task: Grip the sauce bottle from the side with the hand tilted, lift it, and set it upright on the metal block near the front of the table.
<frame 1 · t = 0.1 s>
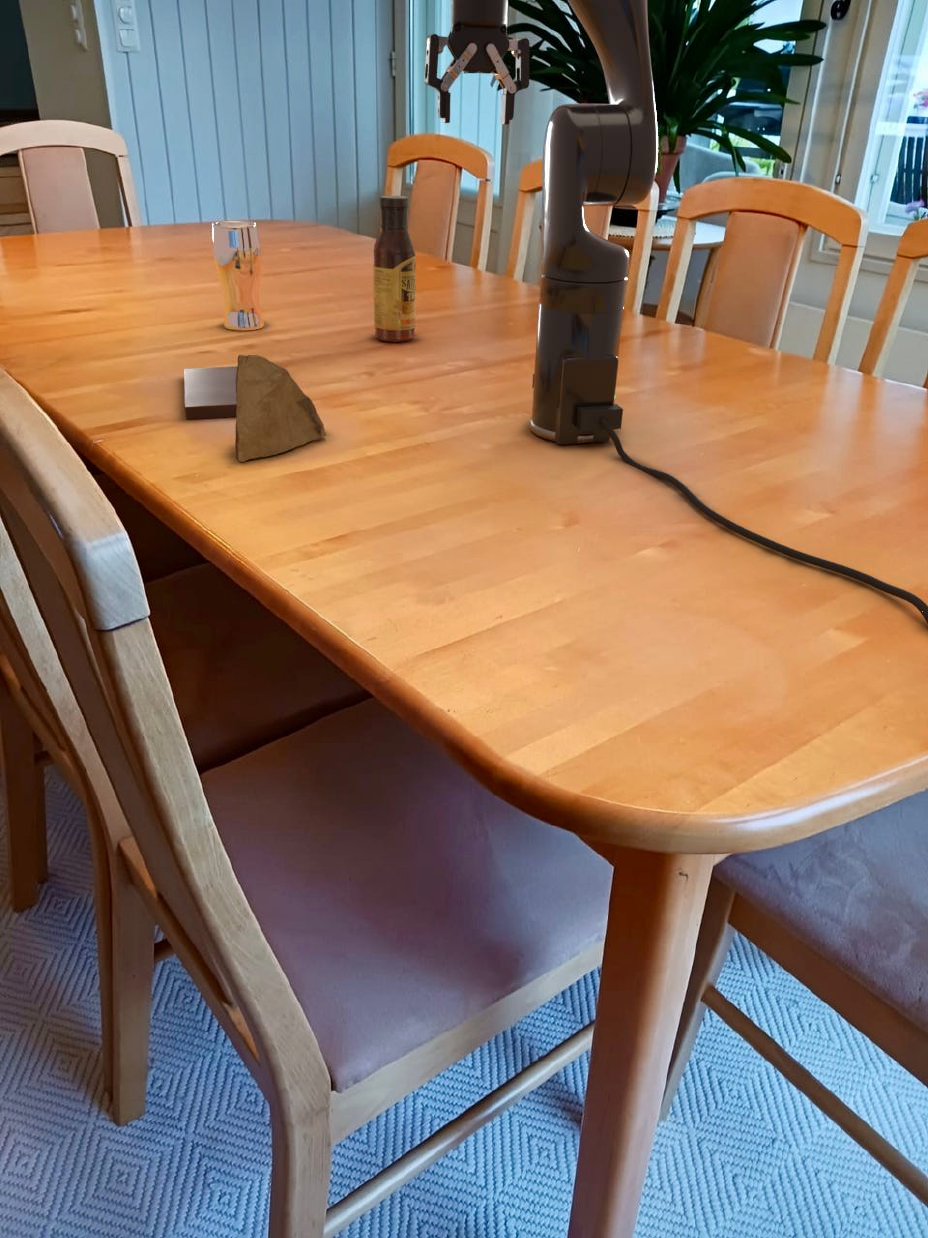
hand: (475, 123, 131), 29 cm above the table, tool pointing down, fingers open, 8 cm apart
metal block: (235, 396, 117), on the table
sauce bottle: (395, 339, 143), on the table
beer glass: (244, 327, 148), on the table
rock: (282, 448, 102), on the table
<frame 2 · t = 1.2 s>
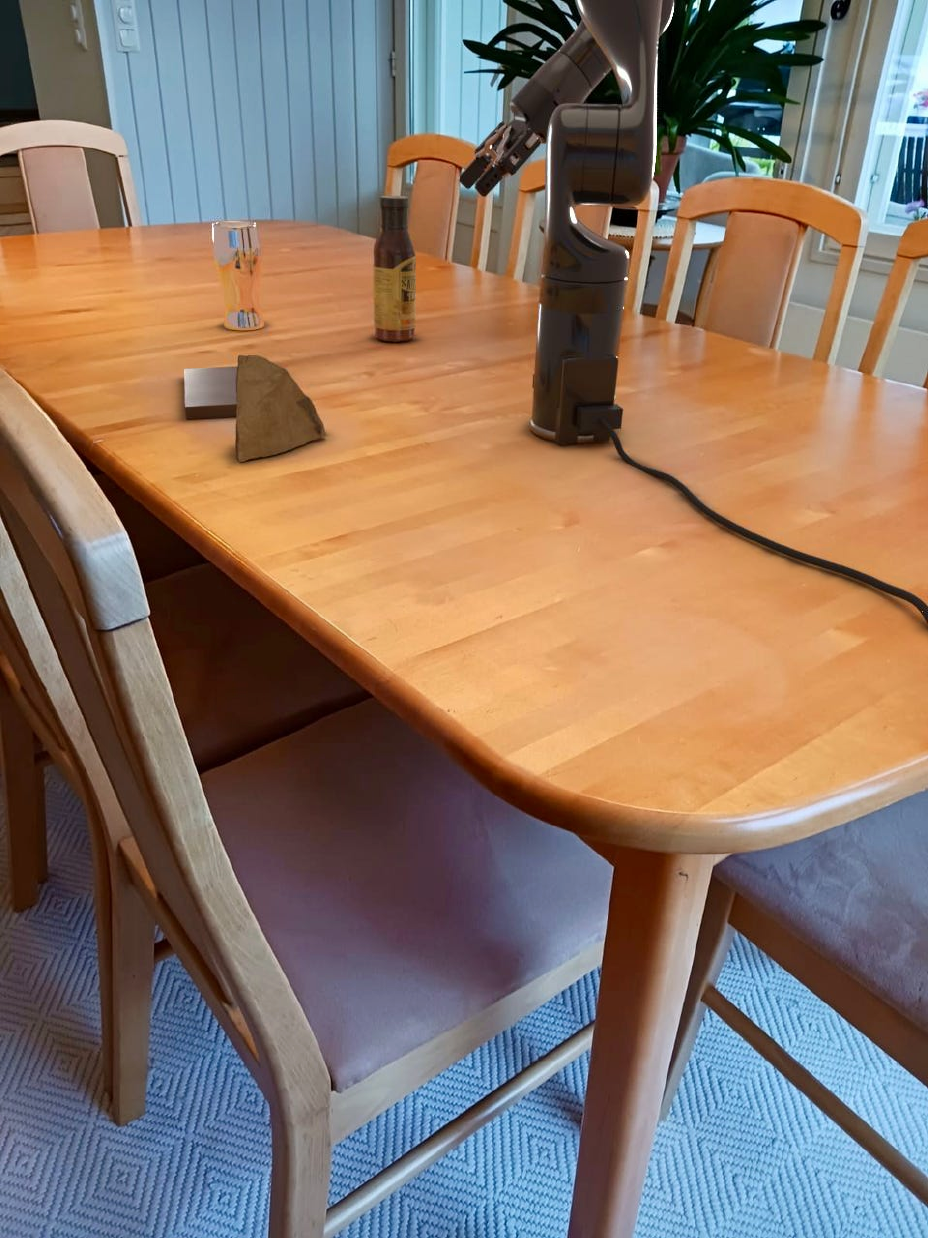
hand: (470, 188, 135), 21 cm above the table, tool tilted 45°, fingers open, 8 cm apart
nothing on the table moved.
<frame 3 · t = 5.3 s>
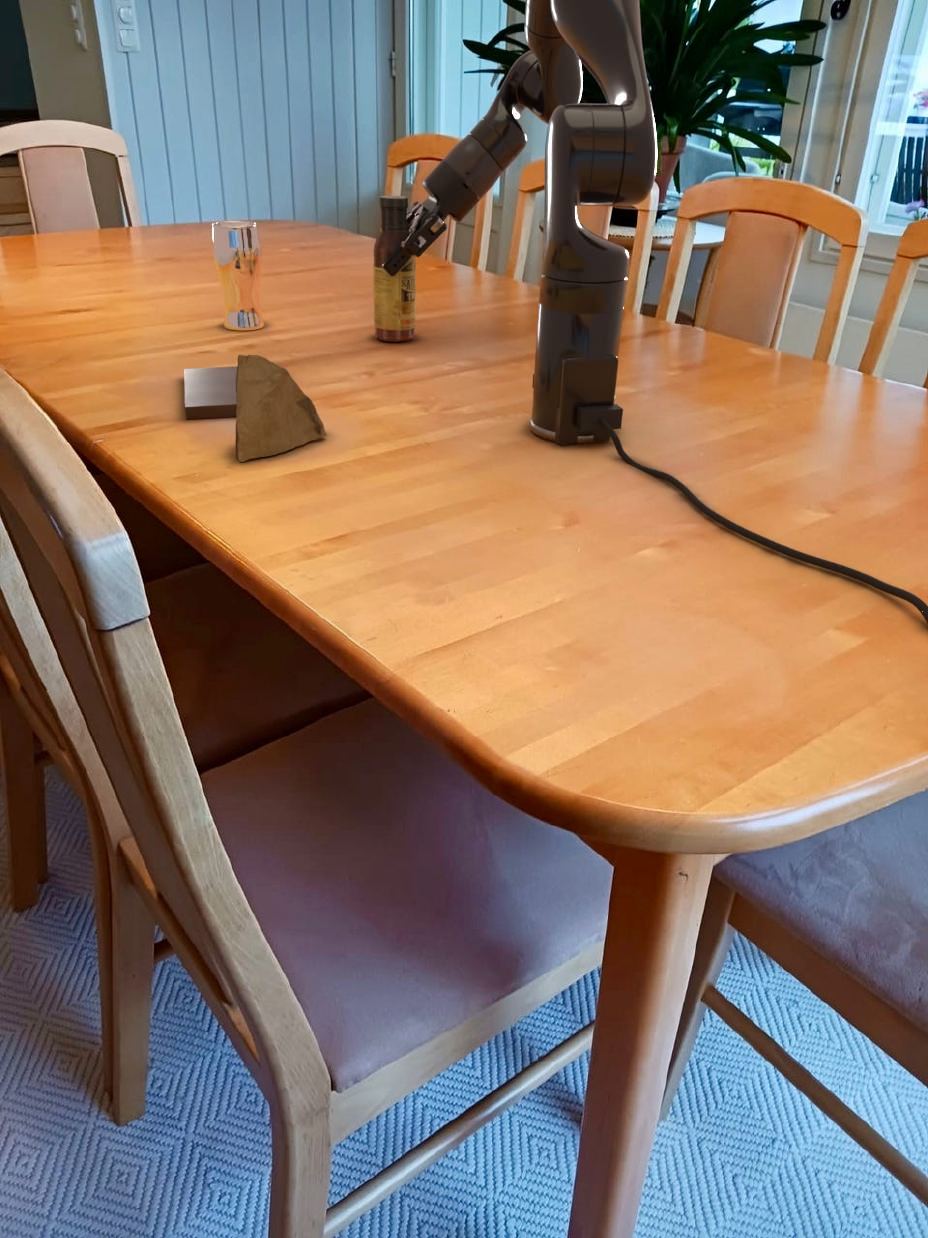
hand: (383, 266, 138), 10 cm above the table, tool tilted 45°, fingers closed on sauce bottle, 6 cm apart
sauce bottle: (395, 339, 143), on the table, touching gripper
everything else where it was.
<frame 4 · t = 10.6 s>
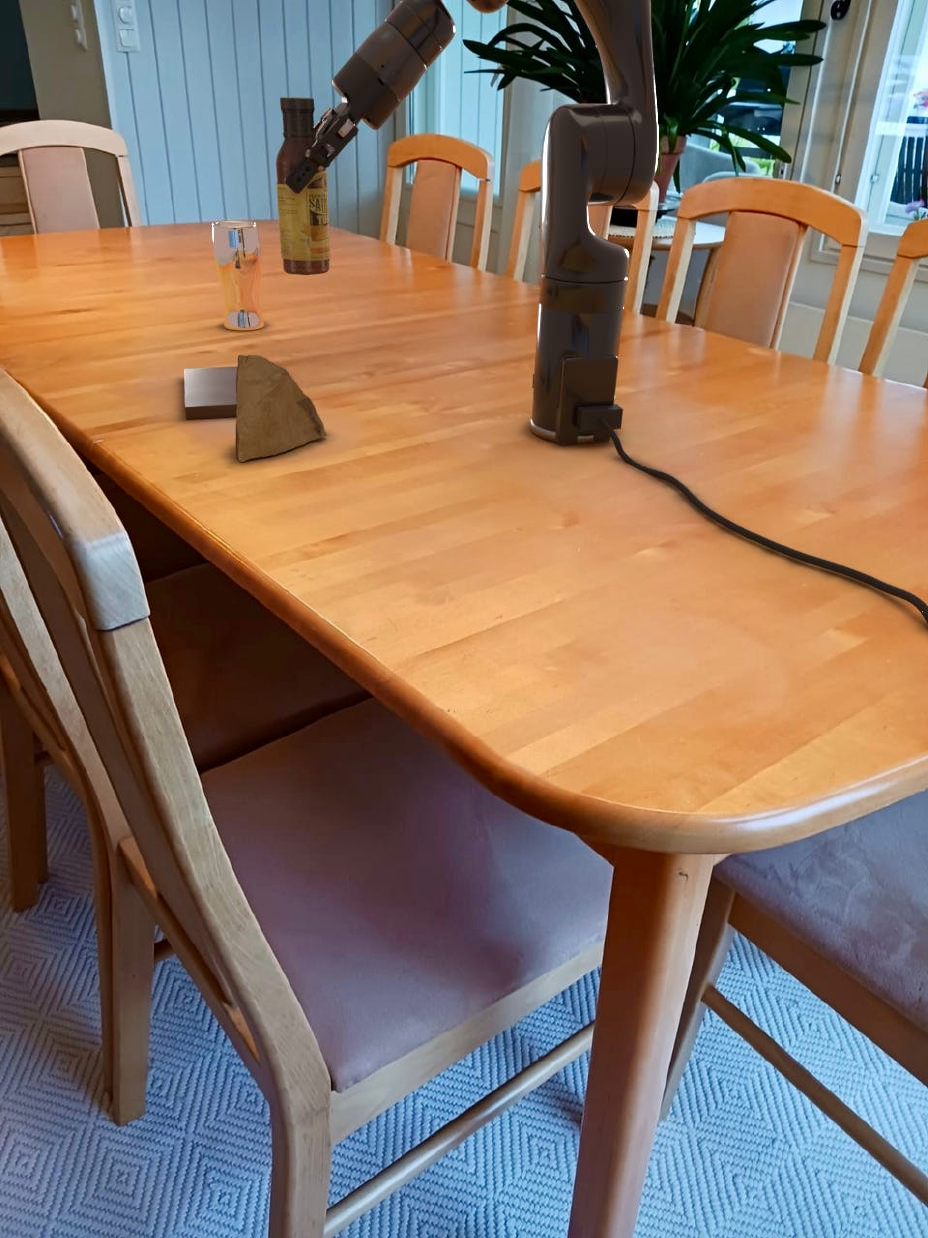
hand: (288, 184, 116), 23 cm above the table, tool tilted 45°, fingers closed on sauce bottle, 6 cm apart
sauce bottle: (307, 273, 122), point 12 cm above the table, touching gripper
everything else where it was.
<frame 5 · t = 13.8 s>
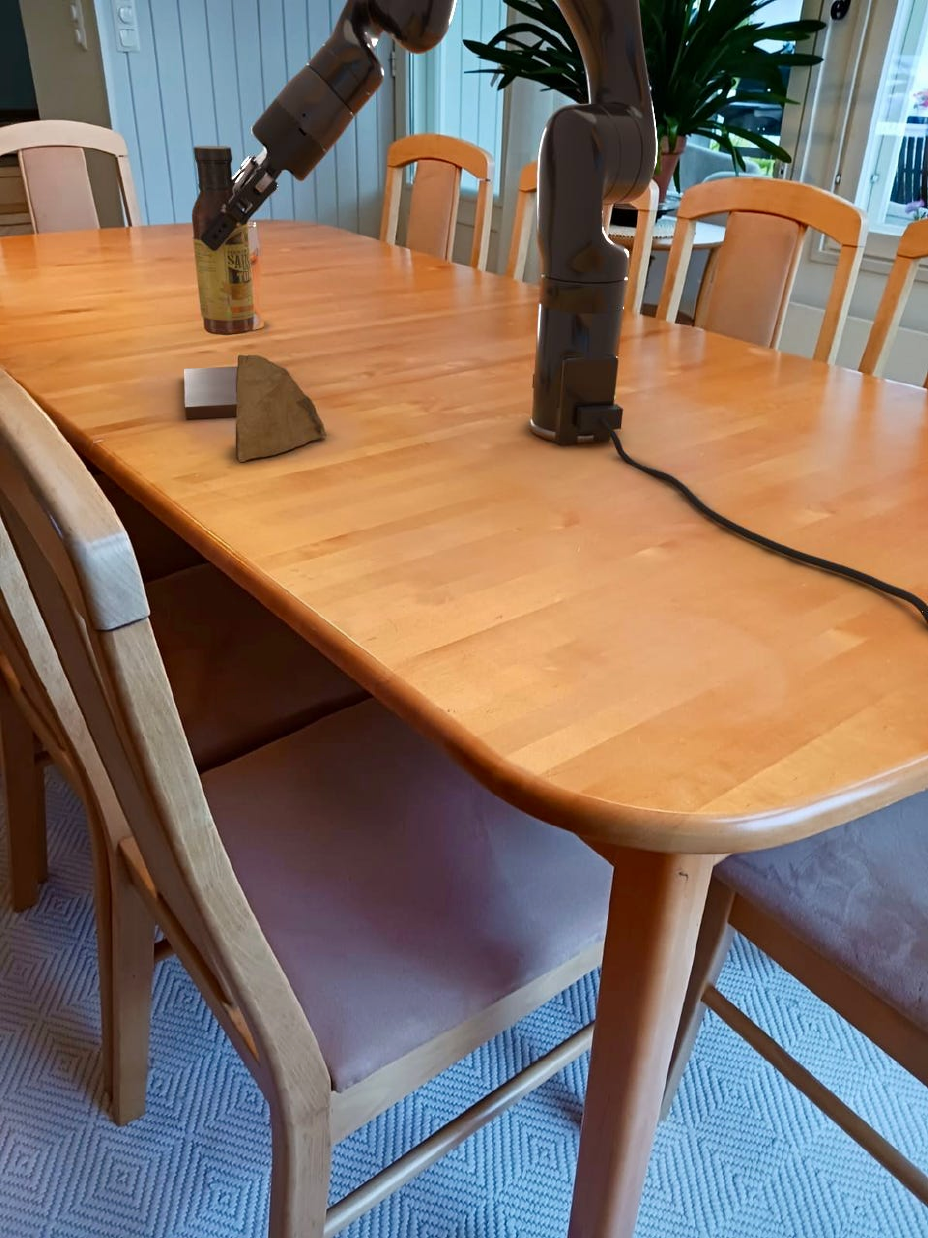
hand: (206, 239, 107), 18 cm above the table, tool tilted 45°, fingers closed on sauce bottle, 6 cm apart
sauce bottle: (230, 332, 113), point 8 cm above the table, touching gripper
everything else where it was.
when the fingers open (12 cm above the table, at t = 16.2 s): sauce bottle stays where it is, resting on metal block.
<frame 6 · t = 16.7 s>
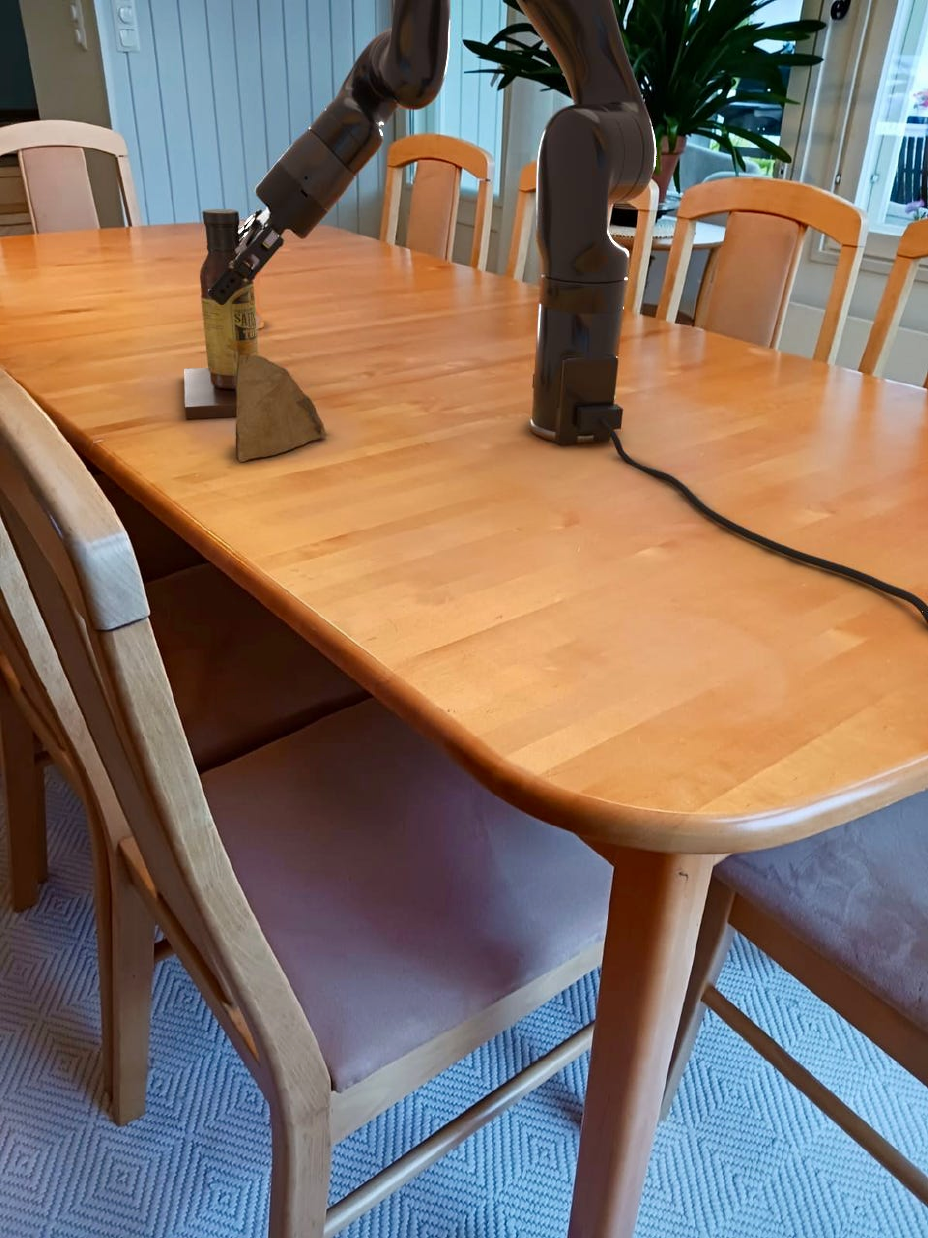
hand: (213, 291, 110), 13 cm above the table, tool tilted 45°, fingers open, 8 cm apart
sauce bottle: (236, 385, 116), point 1 cm above the table, touching metal block
everything else where it was.
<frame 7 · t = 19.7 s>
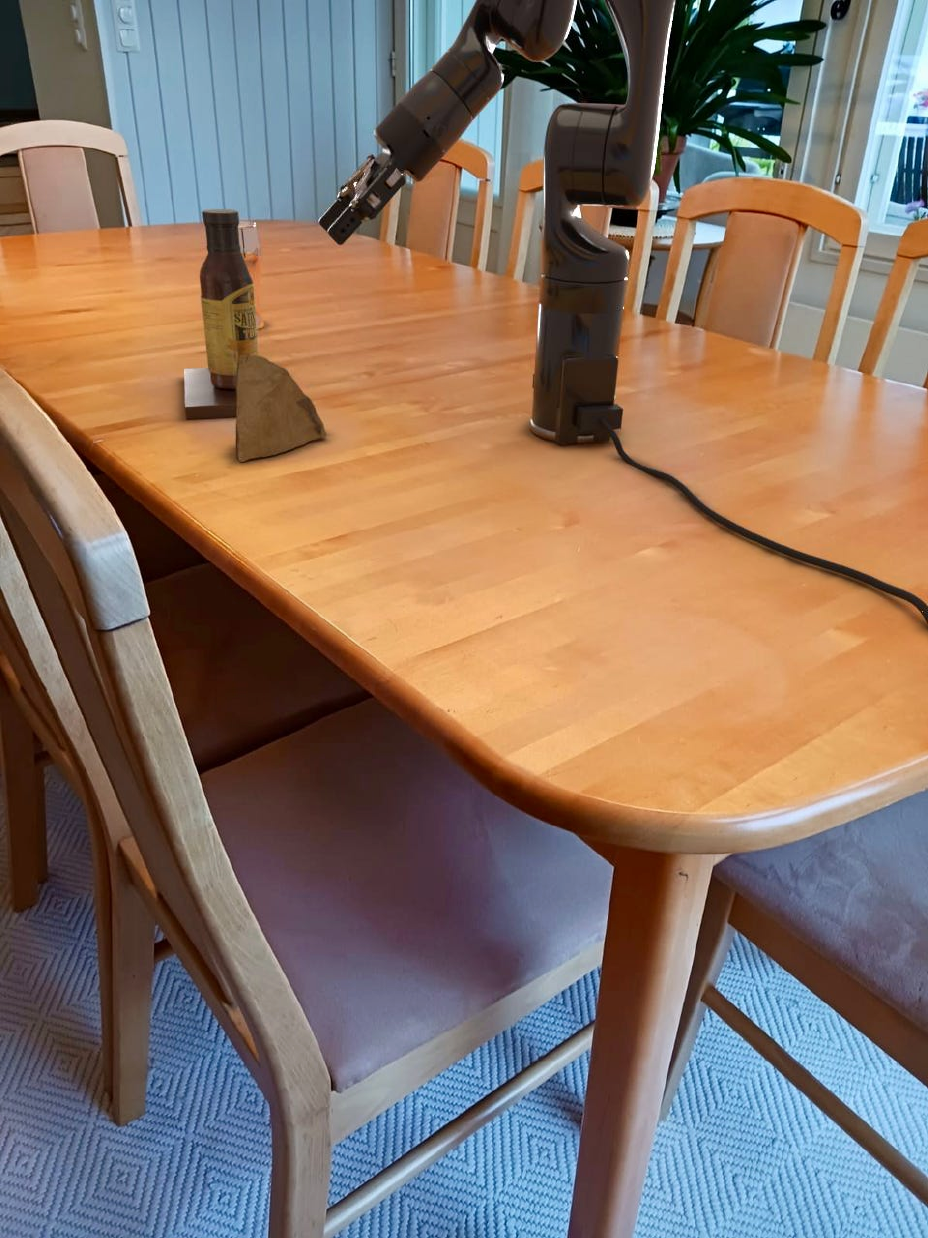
hand: (328, 233, 111), 19 cm above the table, tool tilted 45°, fingers open, 8 cm apart
nothing on the table moved.
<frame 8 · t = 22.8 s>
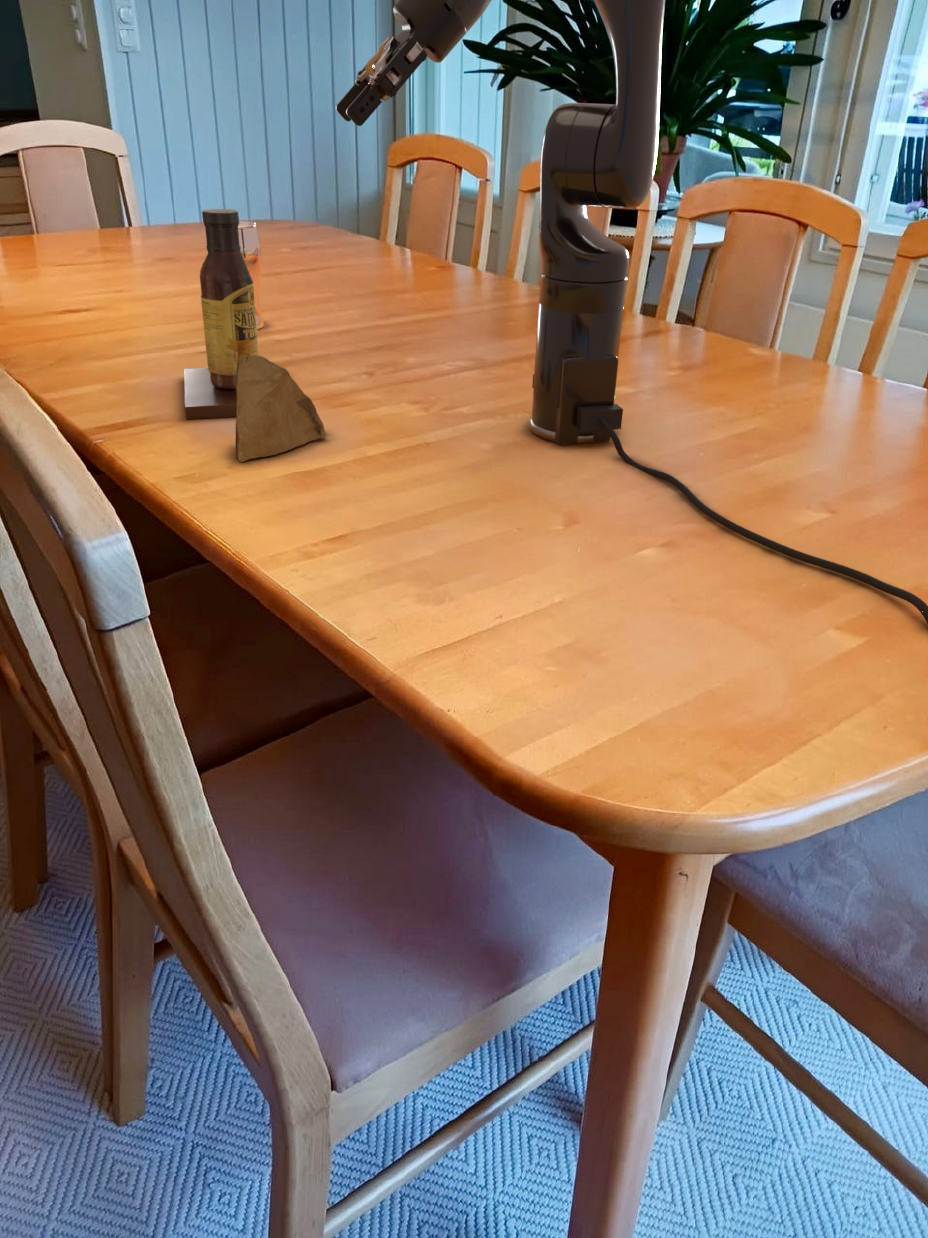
hand: (346, 117, 108), 31 cm above the table, tool tilted 45°, fingers open, 8 cm apart
nothing on the table moved.
at the end: sauce bottle inside the target area on the metal block (0.2 cm from its centre), point 1.3 cm above the metal block's base; sauce bottle tilted 0°; the gripper is holding nothing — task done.
